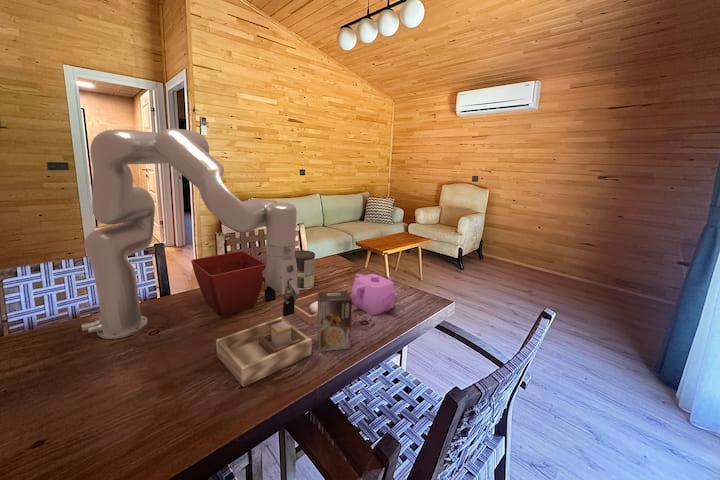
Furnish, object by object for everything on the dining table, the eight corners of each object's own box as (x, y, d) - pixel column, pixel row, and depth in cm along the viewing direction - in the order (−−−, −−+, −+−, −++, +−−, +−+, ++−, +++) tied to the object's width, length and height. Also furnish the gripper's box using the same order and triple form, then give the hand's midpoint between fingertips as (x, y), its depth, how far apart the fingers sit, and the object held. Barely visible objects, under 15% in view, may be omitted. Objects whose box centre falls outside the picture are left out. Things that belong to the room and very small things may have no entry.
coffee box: (345, 337, 100) (348, 290, 96) (350, 349, 94) (353, 299, 90) (316, 340, 98) (317, 292, 94) (319, 352, 92) (320, 301, 88)
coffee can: (291, 290, 131) (291, 258, 127) (288, 281, 140) (289, 250, 136) (316, 289, 134) (317, 257, 130) (312, 279, 143) (313, 249, 140)
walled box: (243, 387, 77) (242, 369, 76) (217, 355, 88) (216, 339, 86) (311, 354, 91) (311, 339, 89) (281, 331, 101) (281, 316, 100)
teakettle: (352, 294, 131) (353, 266, 128) (393, 297, 131) (396, 269, 128) (348, 314, 115) (350, 282, 112) (395, 318, 114) (399, 286, 111)
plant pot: (193, 303, 116) (190, 259, 111) (244, 290, 129) (243, 250, 124) (213, 324, 103) (210, 276, 98) (267, 308, 115) (267, 264, 111)
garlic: (325, 305, 121) (325, 296, 120) (335, 312, 116) (335, 303, 115) (306, 310, 116) (306, 301, 115) (316, 318, 111) (316, 308, 110)
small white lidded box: (278, 350, 90) (278, 331, 88) (271, 343, 92) (270, 325, 91) (291, 345, 92) (291, 326, 91) (283, 338, 95) (283, 320, 94)
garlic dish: (310, 325, 106) (310, 317, 105) (287, 309, 115) (287, 302, 114) (340, 313, 115) (341, 305, 114) (317, 299, 124) (318, 292, 124)
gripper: (311, 256, 82) (308, 316, 86) (276, 239, 93) (274, 293, 98) (286, 261, 77) (283, 325, 81) (252, 243, 88) (251, 299, 93)
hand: (279, 307), depth 89 cm, fingers open, 9 cm apart
